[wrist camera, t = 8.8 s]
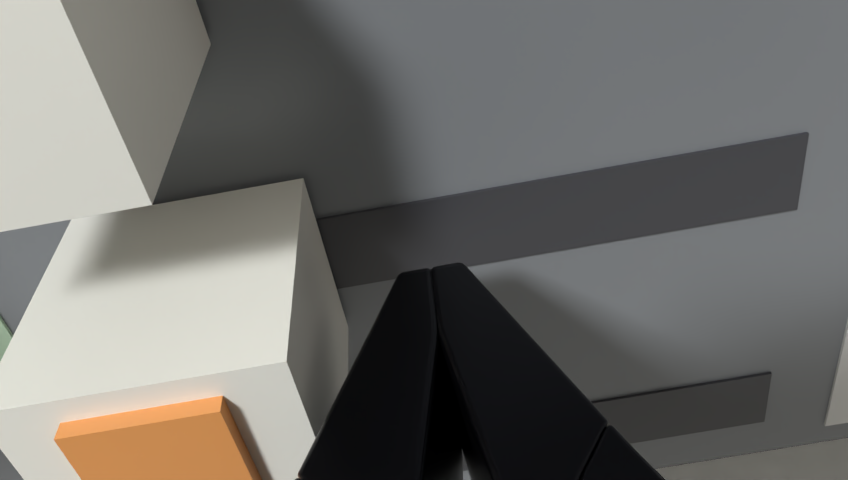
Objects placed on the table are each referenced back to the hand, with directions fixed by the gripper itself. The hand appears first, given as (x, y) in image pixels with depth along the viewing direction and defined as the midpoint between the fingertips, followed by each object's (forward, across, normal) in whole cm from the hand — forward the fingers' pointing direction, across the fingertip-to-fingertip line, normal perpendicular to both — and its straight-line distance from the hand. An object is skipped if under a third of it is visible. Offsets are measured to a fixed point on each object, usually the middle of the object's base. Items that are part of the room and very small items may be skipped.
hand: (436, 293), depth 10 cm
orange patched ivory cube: (+1, +3, 0) cm, 3 cm away
